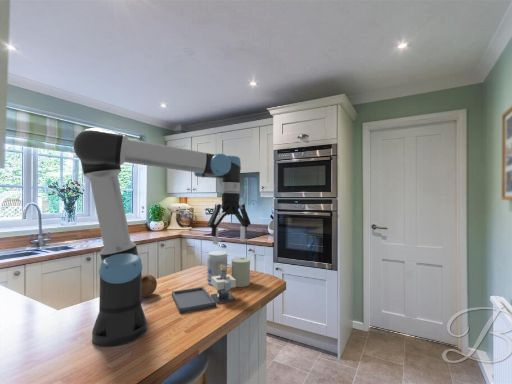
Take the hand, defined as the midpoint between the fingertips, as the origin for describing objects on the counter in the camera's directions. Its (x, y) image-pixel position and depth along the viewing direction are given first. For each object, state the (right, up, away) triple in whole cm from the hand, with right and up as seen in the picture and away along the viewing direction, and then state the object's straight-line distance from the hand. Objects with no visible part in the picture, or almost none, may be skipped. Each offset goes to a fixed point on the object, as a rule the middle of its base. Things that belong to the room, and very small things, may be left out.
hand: (229, 242), depth 112 cm
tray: (-15, -23, -4) cm, 27 cm away
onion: (-36, -23, 0) cm, 43 cm away
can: (+4, -23, +17) cm, 29 cm away
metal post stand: (-3, -23, -2) cm, 23 cm away
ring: (-2, -18, -2) cm, 18 cm away
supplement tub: (-8, -23, +18) cm, 30 cm away
